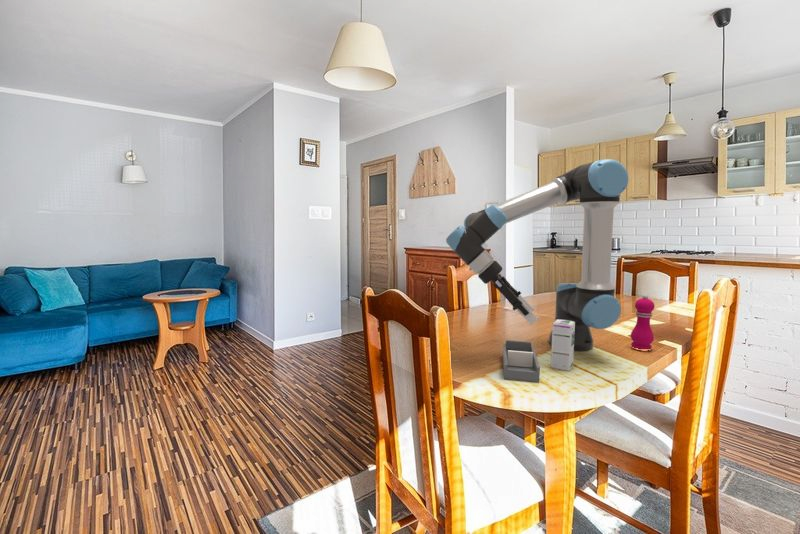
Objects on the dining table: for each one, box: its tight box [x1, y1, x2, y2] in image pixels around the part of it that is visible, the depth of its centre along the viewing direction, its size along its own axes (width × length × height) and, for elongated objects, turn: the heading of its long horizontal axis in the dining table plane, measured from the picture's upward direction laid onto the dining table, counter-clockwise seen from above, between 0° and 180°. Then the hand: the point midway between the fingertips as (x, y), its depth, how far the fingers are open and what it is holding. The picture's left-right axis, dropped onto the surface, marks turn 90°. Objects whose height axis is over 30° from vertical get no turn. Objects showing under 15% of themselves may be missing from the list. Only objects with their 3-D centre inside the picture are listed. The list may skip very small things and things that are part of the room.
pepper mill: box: [630, 293, 656, 350], centre depth 146 cm, size 7×7×20 cm
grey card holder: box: [502, 339, 541, 383], centre depth 125 cm, size 20×10×6 cm, turn 167°
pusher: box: [507, 350, 533, 368], centre depth 127 cm, size 6×7×4 cm
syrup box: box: [550, 319, 575, 372], centre depth 127 cm, size 6×6×14 cm
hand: (532, 317), depth 128 cm, fingers open, 13 cm apart
